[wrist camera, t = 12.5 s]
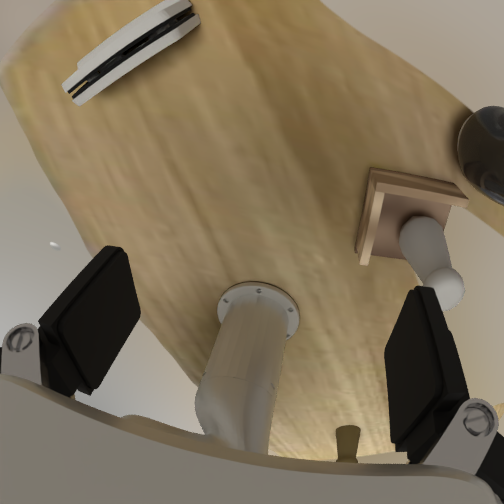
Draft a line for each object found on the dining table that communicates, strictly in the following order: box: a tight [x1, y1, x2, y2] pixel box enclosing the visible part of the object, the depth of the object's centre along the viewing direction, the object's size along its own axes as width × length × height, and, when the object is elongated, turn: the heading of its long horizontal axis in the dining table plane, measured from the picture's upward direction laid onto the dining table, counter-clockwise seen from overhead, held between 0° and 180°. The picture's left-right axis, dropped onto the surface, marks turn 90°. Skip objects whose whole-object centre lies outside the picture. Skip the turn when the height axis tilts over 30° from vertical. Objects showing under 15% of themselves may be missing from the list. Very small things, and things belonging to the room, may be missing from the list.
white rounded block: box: [61, 0, 201, 106], centre depth 28 cm, size 17×5×10 cm, turn 114°
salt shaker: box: [399, 216, 465, 311], centre depth 31 cm, size 6×6×13 cm
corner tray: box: [355, 167, 469, 266], centre depth 34 cm, size 11×11×5 cm
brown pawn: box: [336, 425, 360, 463], centre depth 61 cm, size 6×6×11 cm
